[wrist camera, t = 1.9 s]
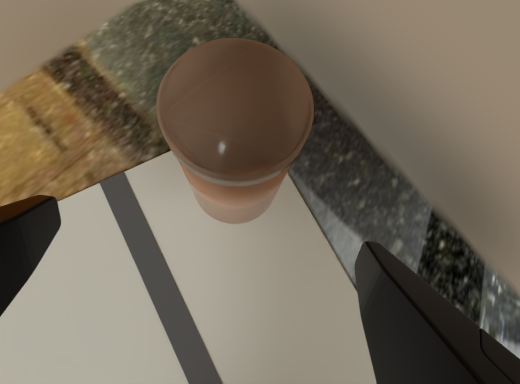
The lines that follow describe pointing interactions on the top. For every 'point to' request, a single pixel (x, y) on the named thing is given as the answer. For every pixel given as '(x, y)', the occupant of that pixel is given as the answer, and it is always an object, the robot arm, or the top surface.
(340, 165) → the top surface
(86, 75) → the top surface
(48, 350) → the mat
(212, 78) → the canister
